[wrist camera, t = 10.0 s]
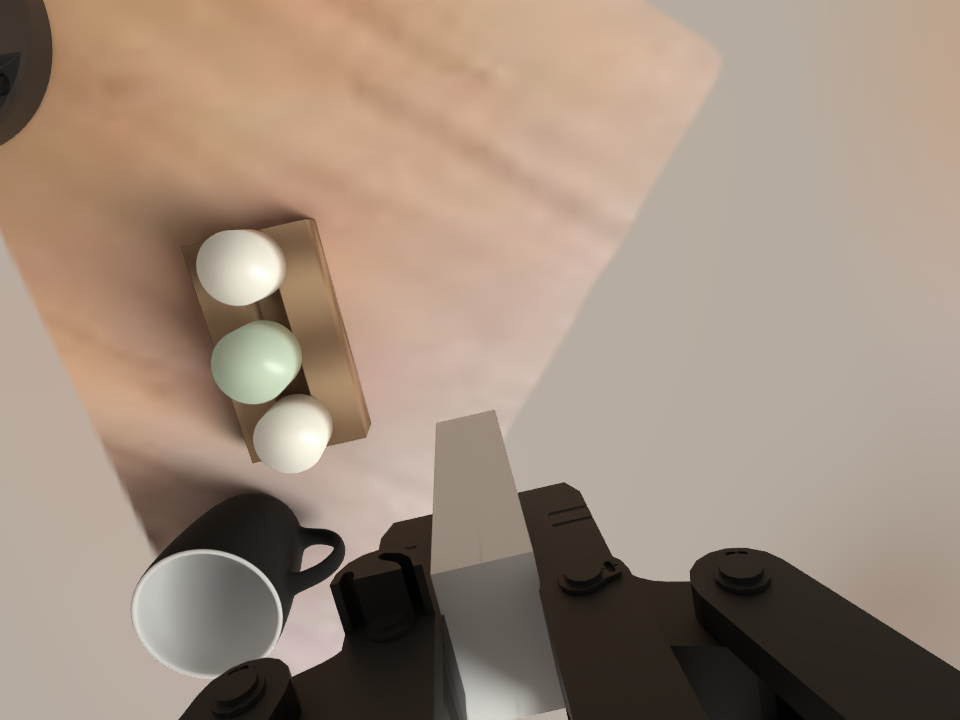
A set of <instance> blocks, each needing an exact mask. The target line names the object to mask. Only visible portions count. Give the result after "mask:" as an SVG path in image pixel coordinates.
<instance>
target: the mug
mask: <svg viewBox="0 0 960 720" xmlns="http://www.w3.org/2000/svg"><path fill="white" fill-rule="evenodd" d="M315 544H323V545H329V546H332V547H334V550H333V551H332V553H331V554H330V555H329V556H328V557H327V558H326V559H324V560H323V561H322V562H320V563H319V564H317V565H315V566H314V567H311V568H309V569H307V570H304V571H301V572H300V569H301V562H302V556H303V552H304V550H305V549H306V548H307V547H309V546H311V545H315ZM344 556H345V545H344V542H343V540H342V538H341V537H340V536H339V535H338V534H337V533H335V532H333V531H330V530H326V529H313V528H304V527H301V526H300V524H299V522H298V520H297V518H296V516H295V515H294V513H293V512H292V511H291V509H290V508H289V507H288V506H287V505H285V504H284V503H283V502H281V501H280V500H278V499H276V498H273V497H271V496H268V495H263V494H244V495H239V496H235V497H232V498H230V499H228V500H225V501H224V502H222V503H220V504H218V505H217V506H215V507H214V508H212V509H211V510H209V511H208V512H206V513H205V514H204V515H202V516H201V517H200V518H199V519H197V520H196V521H195V522H194V523H193V524H191V525H190V526H189V527H188V528H187V529H186V530H185V531H184V532H182V533H181V534H180V535H179V536H178V537H177V538H176V539H175V540H174V541H173V542H172V543H171V544H170V545H169V546H168V547H167V548H166V549H165V550H164V551H163V552H162V553H161V554H160V555H159V556H158V557H157V558H156V560H155V561H154V562H153V563H152V564H151V565H150V566H149V568H148V569H147V570H146V572H145V573H144V575H143V576H142V577H141V579H140V580H139V582H138V584H137V586H136V588H135V591H134V594H133V597H132V603H131V618H132V624H133V627H134V630H135V633H136V635H137V637H138V639H139V641H140V642H141V644H142V645H143V647H144V648H145V649H146V650H147V651H148V653H149V654H150V655H151V656H152V657H153V658H155V659H156V660H157V661H158V662H160V663H161V664H163V665H164V666H166V667H168V668H170V669H171V670H173V671H176V672H178V673H181V674H184V675H187V676H191V677H196V678H204V679H216V678H217V677H219V676H220V675H221V674H223V673H224V672H226V671H227V670H228V669H230V668H232V667H234V666H236V665H237V666H238V665H239V664H241V663H244V662H247V661H250V660H255V659H260V658H265V657H267V656H268V655H269V653H270V652H271V651H272V650H273V648H274V647H275V645H276V644H277V642H278V640H279V638H280V636H281V633H282V631H283V629H284V626H285V623H286V621H287V618H288V615H289V612H290V609H291V605H292V602H293V598H294V596H295V595H296V594H298V593H299V592H301V591H303V590H306V589H308V588H310V587H312V586H314V585H316V584H318V583H320V582H322V581H323V580H325V579H326V578H328V577H329V576H330V575H332V574H333V573H334V572H335V571H336V570H337V569H338V568H339V566H340V565H341V563H342V561H343V559H344Z"/></svg>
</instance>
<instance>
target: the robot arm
mask: <svg viewBox="0 0 960 720" xmlns="http://www.w3.org/2000/svg"><path fill="white" fill-rule="evenodd" d="M51 65H52V37H51V30H50V24H49V19H48V15H47V11H46V8H45V5H44V2H43V0H0V145H2V144H4V143H5V142H7V141H8V140H10V139H11V138H13V137H14V136H15V135H16V134H17V133H19V132H20V131H21V130H22V129H23V128H24V127H25V126H26V124H27V123H28V122H29V121H30V120H31V118H32V117H33V115H34V114H35V112H36V111H37V109H38V107H39V106H40V103H41V101H42V99H43V97H44V94H45V92H46V89H47V85H48V82H49V78H50V73H51ZM330 588H331V591H332V594H333V597H334V601H335V604H336V607H337V610H338V613H339V616H340V620H341V623H342V626H343V629H344V632H345V638H344V642H343V647H342V651H341V652H339V653H338V654H337V655H335V656H334V657H332V658H330V659H328V660H327V661H325V662H323V663H321V664H319V665H317V666H315V667H313V668H310V669H308V670H306V671H304V672H302V673H300V674H297V675H295V676H293V677H292V676H291V673H290V670H289V667H288V666H287V665H286V664H285V663H284V662H282V661H281V660H280V659H274V658H266V657H265V658H260V659H255V660H250V661H247V662H244V663H241V664H239V665H238V666H237V665H236V666H234V667H232V668H230V669H228V670H227V671H226V672H224V673H223V674H221V675H220V676H219V677H217V678H216V679H214V680H213V681H212V682H210V683H209V684H208V685H207V686H206V687H205V688H204V689H203V690H202V692H201V693H200V694H199V695H198V696H197V697H196V698H195V699H194V701H193V702H192V703H191V704H190V706H189V707H188V708H187V710H186V711H185V712H184V714H183V715H182V716H181V717H180V719H179V720H467V717H466V709H467V713H468V717H469V720H514V719H518V718H523V717H527V716H532V715H536V714H540V713H544V712H549V711H553V710H558V709H562V708H566V712H567V716H568V720H960V671H959V670H957V669H955V668H954V667H953V666H951V665H949V664H948V663H946V662H945V661H943V660H941V659H940V658H938V657H937V656H935V655H934V654H932V653H930V652H929V651H927V650H926V649H924V648H922V647H921V646H919V645H918V644H916V643H914V642H913V641H911V640H910V639H908V638H907V637H905V636H903V635H902V634H900V633H899V632H897V631H895V630H894V629H892V628H890V627H889V626H888V625H886V624H884V623H883V622H881V621H880V620H878V619H876V618H875V617H873V616H872V615H870V614H869V613H867V612H865V611H864V610H862V609H861V608H859V607H857V606H856V605H854V604H852V603H851V602H850V601H848V600H846V599H845V598H843V597H842V596H840V595H838V594H837V593H835V592H833V591H832V590H831V589H829V588H827V587H826V586H824V585H822V584H821V583H819V582H818V581H816V580H815V579H813V578H811V577H810V576H808V575H807V574H805V573H803V572H802V571H800V570H799V569H797V568H796V567H794V566H792V565H791V564H789V563H788V562H786V561H784V560H783V559H781V558H779V557H776V556H774V555H772V554H770V553H768V552H765V551H759V550H754V549H749V548H728V549H727V548H726V549H722V550H719V551H715V552H711V553H708V554H707V555H705V556H704V557H702V558H700V559H698V560H697V561H696V562H695V564H694V565H693V567H692V569H691V570H690V582H663V581H651V580H647V579H642V578H639V577H636V576H634V575H632V574H631V572H630V570H629V568H628V567H627V566H626V565H625V564H624V563H623V562H622V561H621V560H619V559H617V558H615V557H613V556H612V554H611V553H610V550H609V549H608V547H607V545H606V543H605V541H604V539H603V537H602V535H601V533H600V531H599V529H598V527H597V525H596V523H595V521H594V519H593V518H592V515H591V513H590V511H589V509H588V507H587V505H586V503H585V501H584V499H583V497H582V495H581V493H580V491H578V490H576V489H575V488H573V487H571V486H570V485H568V484H566V483H559V484H555V485H550V486H546V487H542V488H537V489H533V490H529V491H524V492H519V493H517V490H516V486H515V482H514V479H513V475H512V471H511V468H510V464H509V460H508V456H507V453H506V449H505V445H504V442H503V438H502V434H501V431H500V427H499V423H498V419H497V416H496V412H495V410H492V411H488V412H483V413H479V414H474V415H470V416H465V417H461V418H457V419H452V420H448V421H443V422H439V423H436V441H435V468H434V494H433V514H431V515H427V516H423V517H418V518H414V519H410V520H405V521H401V522H396V523H393V525H392V526H391V527H390V528H389V530H388V531H387V532H386V533H385V535H384V536H383V537H382V538H381V542H380V547H379V550H377V551H374V552H371V553H368V554H365V555H363V556H361V557H359V558H357V559H355V560H354V561H352V562H350V563H348V564H347V565H346V566H345V567H344V568H343V569H341V570H340V571H339V572H338V573H337V574H336V575H335V577H334V579H333V580H332V582H331V584H330Z"/></svg>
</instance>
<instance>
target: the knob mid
mask: <svg viewBox="0 0 960 720" xmlns="http://www.w3.org/2000/svg"><path fill="white" fill-rule="evenodd" d="M301 363H302V351H301V347H300V345H299V342H298V340H297V339H296V337H295V336H294V335H293V333H292V332H291V331H290V330H288V329H287V328H286V327H284V326H283V325H281V324H279V323H276V322H273V321H267V320H259V321H254V322H251V323H248V324H246V325H244V326H242V327H240V328H238V329H237V330H235V331H233V332H231V333H229V334H227V335H226V336H224V337H223V338H222V339H221V340H220V341H219V342H218V343H217V345H216V346H215V348H214V350H213V353H212V356H211V372H212V375H213V378H214V380H215V382H216V384H217V385H218V387H219V388H220V389H221V390H222V391H223V392H224V393H225V394H226V395H227V396H229V397H230V398H232V399H234V400H236V401H238V402H241V403H246V404H260V403H264V402H267V401H270V400H272V399H273V398H275V397H276V396H278V395H279V394H280V393H281V392H282V391H283V390H284V389H285V388H286V387H287V385H288V384H289V383H290V382H291V381H292V380H293V379H294V378H295V377H296V375H297V374H298V372H299V370H300V367H301Z"/></svg>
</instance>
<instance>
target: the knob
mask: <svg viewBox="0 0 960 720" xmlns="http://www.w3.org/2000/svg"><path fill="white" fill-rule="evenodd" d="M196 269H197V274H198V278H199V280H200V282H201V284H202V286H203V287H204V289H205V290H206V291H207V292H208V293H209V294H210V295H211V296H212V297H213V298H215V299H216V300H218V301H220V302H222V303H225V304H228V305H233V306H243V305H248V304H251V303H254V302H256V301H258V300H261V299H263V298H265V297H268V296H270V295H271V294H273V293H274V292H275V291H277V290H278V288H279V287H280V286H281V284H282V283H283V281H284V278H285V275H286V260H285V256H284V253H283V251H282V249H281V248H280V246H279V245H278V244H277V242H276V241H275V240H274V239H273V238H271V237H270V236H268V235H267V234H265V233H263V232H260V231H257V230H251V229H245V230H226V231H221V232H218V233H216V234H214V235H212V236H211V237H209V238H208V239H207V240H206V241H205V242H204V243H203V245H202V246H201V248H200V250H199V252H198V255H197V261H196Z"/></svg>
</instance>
